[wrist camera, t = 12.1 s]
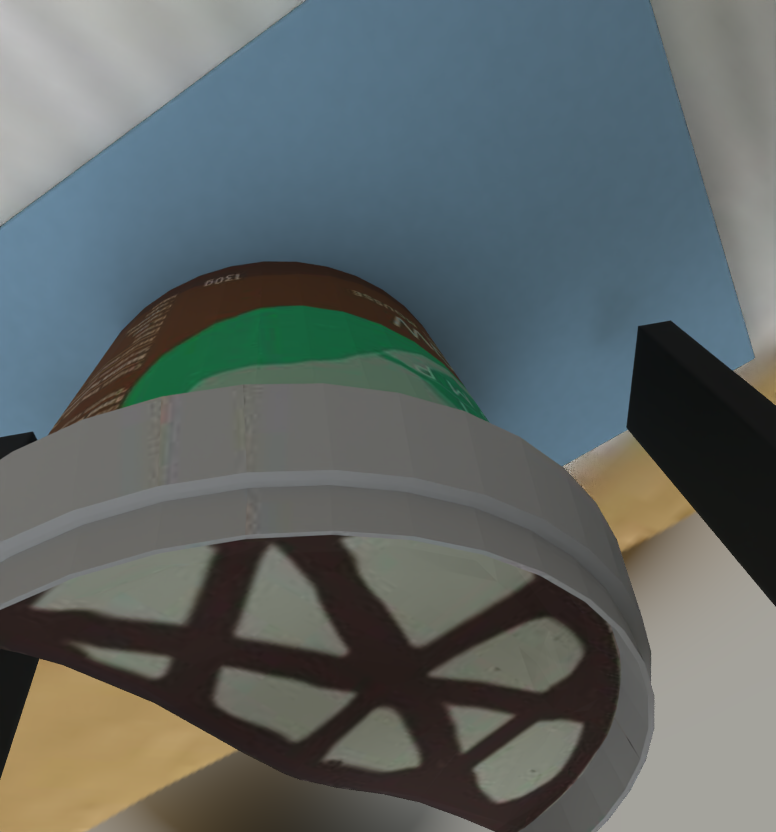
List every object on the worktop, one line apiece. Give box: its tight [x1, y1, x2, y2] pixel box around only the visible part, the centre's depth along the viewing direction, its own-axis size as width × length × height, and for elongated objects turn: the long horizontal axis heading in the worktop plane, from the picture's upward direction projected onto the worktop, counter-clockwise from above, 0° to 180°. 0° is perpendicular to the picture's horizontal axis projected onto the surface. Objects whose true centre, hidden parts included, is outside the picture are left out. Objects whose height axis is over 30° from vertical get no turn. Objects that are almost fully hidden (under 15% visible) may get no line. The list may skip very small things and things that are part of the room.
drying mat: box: [0, 0, 755, 466], centre depth 17 cm, size 20×14×1 cm
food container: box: [0, 261, 654, 832], centre depth 13 cm, size 12×6×10 cm, turn 45°
